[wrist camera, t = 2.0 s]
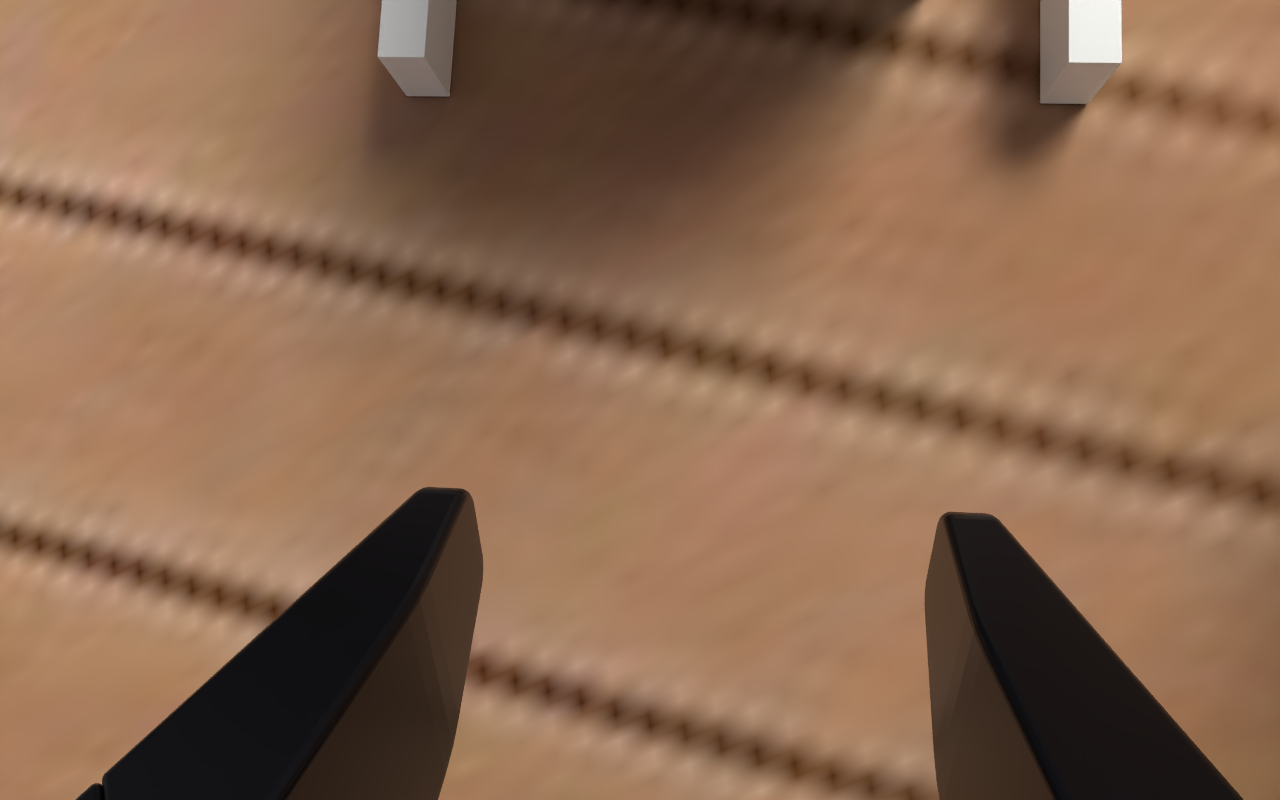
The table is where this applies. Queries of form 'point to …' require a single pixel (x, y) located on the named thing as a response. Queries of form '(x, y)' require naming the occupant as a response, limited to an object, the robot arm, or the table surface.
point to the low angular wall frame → (1069, 46)
